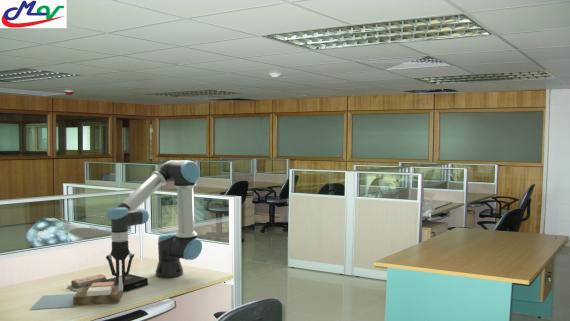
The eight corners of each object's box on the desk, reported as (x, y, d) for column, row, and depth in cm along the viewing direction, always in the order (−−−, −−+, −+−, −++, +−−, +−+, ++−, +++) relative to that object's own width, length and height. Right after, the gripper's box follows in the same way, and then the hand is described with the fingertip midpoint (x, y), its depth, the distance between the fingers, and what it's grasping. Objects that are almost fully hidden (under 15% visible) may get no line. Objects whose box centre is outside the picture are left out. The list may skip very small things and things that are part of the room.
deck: (123, 293, 244) (122, 285, 244) (118, 302, 229) (118, 294, 229) (80, 295, 241) (80, 287, 240) (73, 305, 226) (72, 297, 226)
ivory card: (111, 290, 235) (111, 286, 235) (109, 294, 229) (109, 290, 229) (89, 292, 233) (89, 287, 233) (86, 296, 227) (86, 291, 227)
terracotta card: (114, 285, 243) (114, 281, 243) (112, 289, 237) (112, 285, 237) (93, 287, 241) (93, 282, 241) (90, 290, 235) (90, 286, 235)
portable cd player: (127, 280, 267) (126, 273, 267) (147, 285, 258) (147, 278, 257) (100, 288, 254) (100, 280, 254) (121, 294, 244) (121, 286, 244)
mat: (82, 293, 243) (82, 293, 243) (72, 307, 224) (72, 306, 224) (43, 296, 240) (43, 295, 240) (29, 310, 221) (29, 309, 221)
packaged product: (99, 272, 266) (108, 275, 260) (100, 281, 267) (109, 284, 260) (66, 279, 253) (75, 283, 246) (66, 288, 253) (75, 292, 247)
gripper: (104, 242, 227) (105, 293, 228) (133, 241, 229) (134, 291, 230) (106, 239, 234) (108, 288, 235) (135, 238, 237) (136, 286, 238)
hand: (121, 289), depth 233 cm, fingers closed
